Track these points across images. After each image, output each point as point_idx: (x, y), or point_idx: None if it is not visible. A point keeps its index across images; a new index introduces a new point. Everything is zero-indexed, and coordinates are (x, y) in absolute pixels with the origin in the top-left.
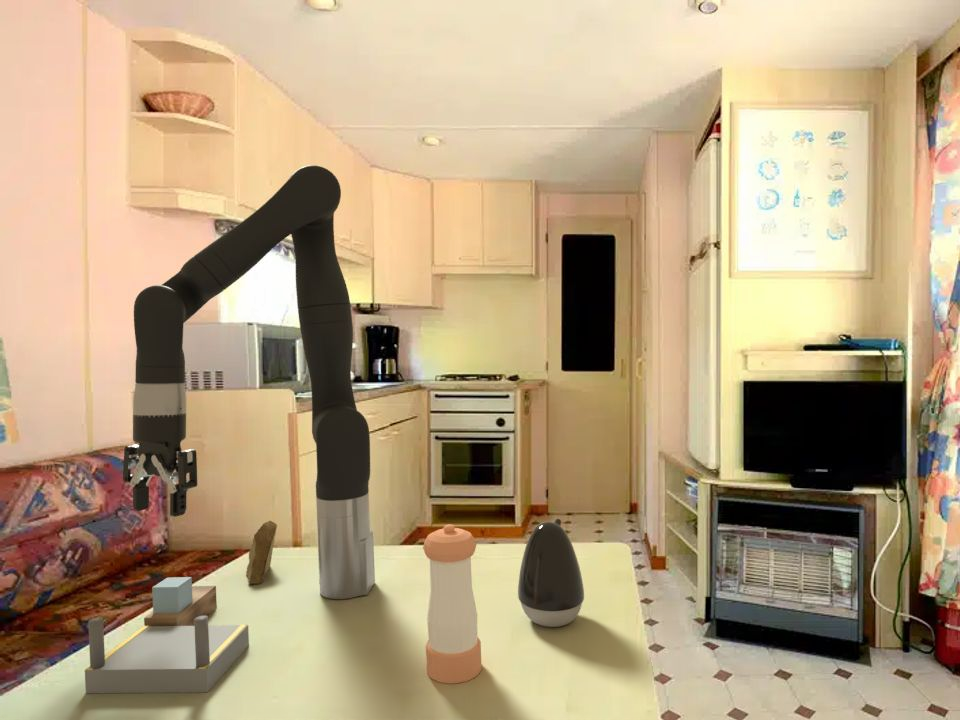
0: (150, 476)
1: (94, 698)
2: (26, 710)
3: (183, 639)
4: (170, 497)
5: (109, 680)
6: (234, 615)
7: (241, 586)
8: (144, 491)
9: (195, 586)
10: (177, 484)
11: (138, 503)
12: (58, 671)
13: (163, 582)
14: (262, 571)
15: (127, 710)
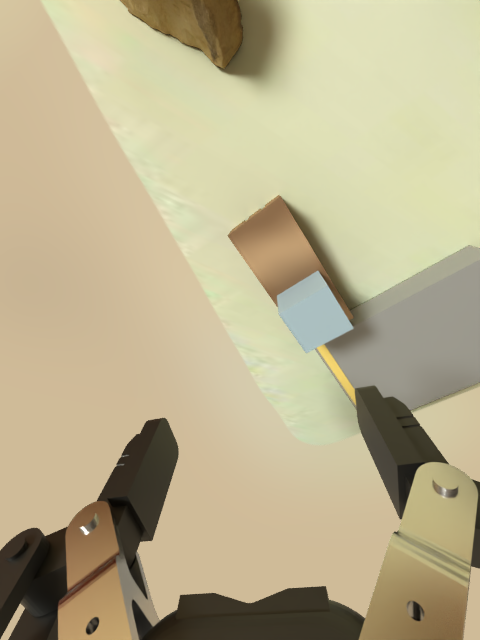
0: (124, 563)
1: None
2: (336, 441)
3: (419, 336)
4: (391, 496)
5: None
6: (342, 193)
7: (214, 88)
8: (145, 491)
9: (243, 225)
10: (476, 564)
11: (169, 467)
12: (279, 404)
13: (300, 331)
14: (237, 15)
15: (439, 400)
